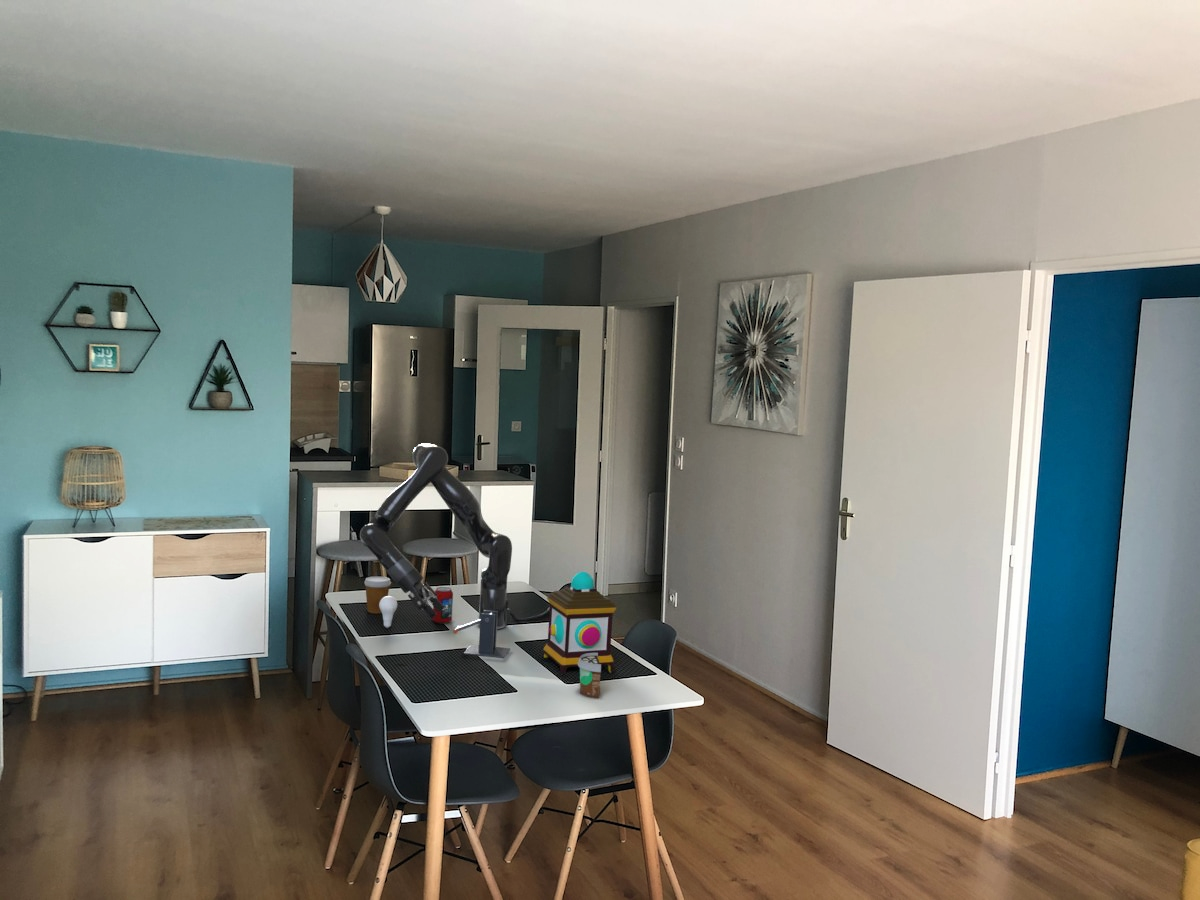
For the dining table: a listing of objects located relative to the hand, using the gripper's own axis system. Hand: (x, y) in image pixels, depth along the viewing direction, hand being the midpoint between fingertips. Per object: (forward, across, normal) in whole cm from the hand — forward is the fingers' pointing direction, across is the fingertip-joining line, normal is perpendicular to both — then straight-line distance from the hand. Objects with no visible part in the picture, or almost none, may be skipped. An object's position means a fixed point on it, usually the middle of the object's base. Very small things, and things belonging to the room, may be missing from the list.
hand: (438, 613), depth 299 cm
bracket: (+20, 0, -3) cm, 20 cm away
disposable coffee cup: (-15, +40, +33) cm, 54 cm away
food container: (+45, -26, -28) cm, 59 cm away
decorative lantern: (+41, -3, -24) cm, 48 cm away
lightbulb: (-8, +20, +25) cm, 33 cm away
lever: (+11, 0, -6) cm, 13 cm away
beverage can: (+3, +34, +14) cm, 37 cm away
